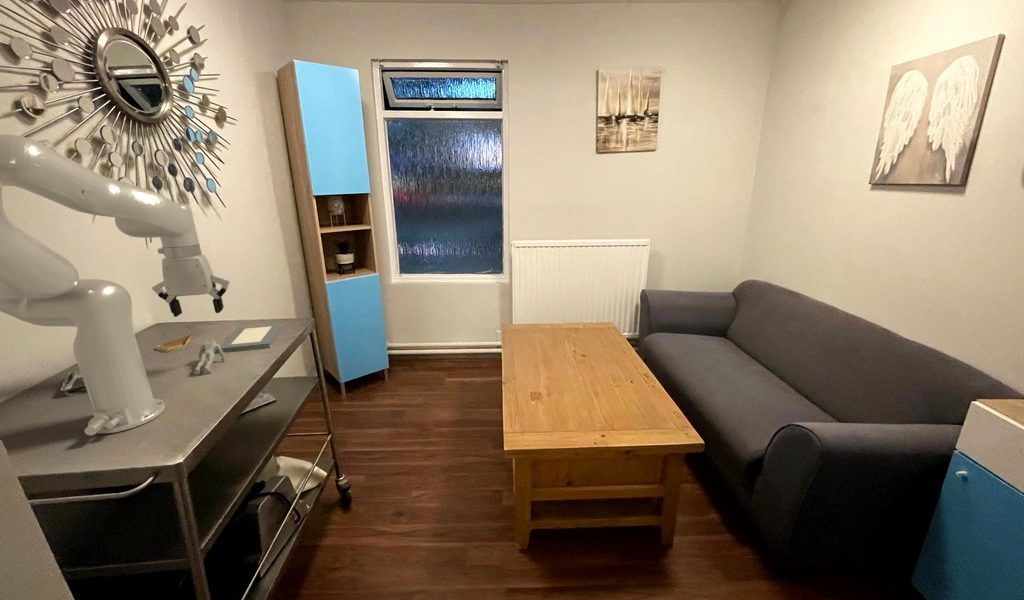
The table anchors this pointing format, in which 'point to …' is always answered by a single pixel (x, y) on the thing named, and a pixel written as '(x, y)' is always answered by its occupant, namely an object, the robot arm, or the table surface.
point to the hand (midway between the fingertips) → (199, 313)
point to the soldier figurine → (208, 355)
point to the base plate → (251, 338)
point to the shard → (174, 344)
